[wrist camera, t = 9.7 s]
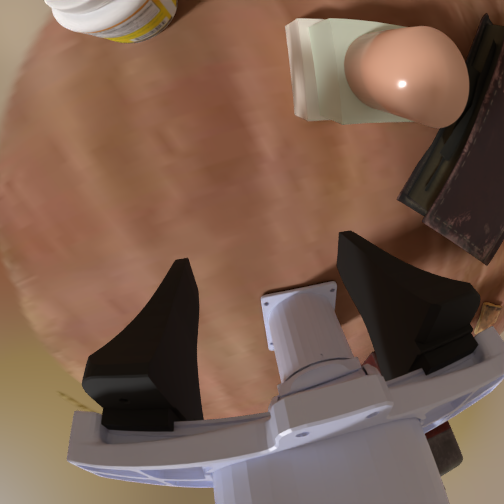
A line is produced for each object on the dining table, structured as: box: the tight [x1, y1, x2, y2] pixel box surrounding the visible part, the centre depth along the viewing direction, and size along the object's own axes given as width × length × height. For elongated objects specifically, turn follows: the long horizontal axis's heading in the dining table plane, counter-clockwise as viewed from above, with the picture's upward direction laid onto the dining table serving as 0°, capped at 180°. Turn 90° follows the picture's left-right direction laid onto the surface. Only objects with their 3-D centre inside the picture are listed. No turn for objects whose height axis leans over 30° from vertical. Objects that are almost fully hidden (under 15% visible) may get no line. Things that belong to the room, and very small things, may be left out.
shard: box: [474, 302, 502, 334], centre depth 40 cm, size 11×8×2 cm
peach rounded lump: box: [344, 26, 469, 128], centre depth 10 cm, size 5×5×4 cm
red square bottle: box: [361, 352, 463, 488], centre depth 32 cm, size 9×11×28 cm
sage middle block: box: [308, 18, 414, 125], centre depth 13 cm, size 6×6×4 cm
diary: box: [397, 13, 504, 266], centre depth 19 cm, size 19×25×5 cm
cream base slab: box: [285, 18, 330, 121], centre depth 16 cm, size 7×7×4 cm
